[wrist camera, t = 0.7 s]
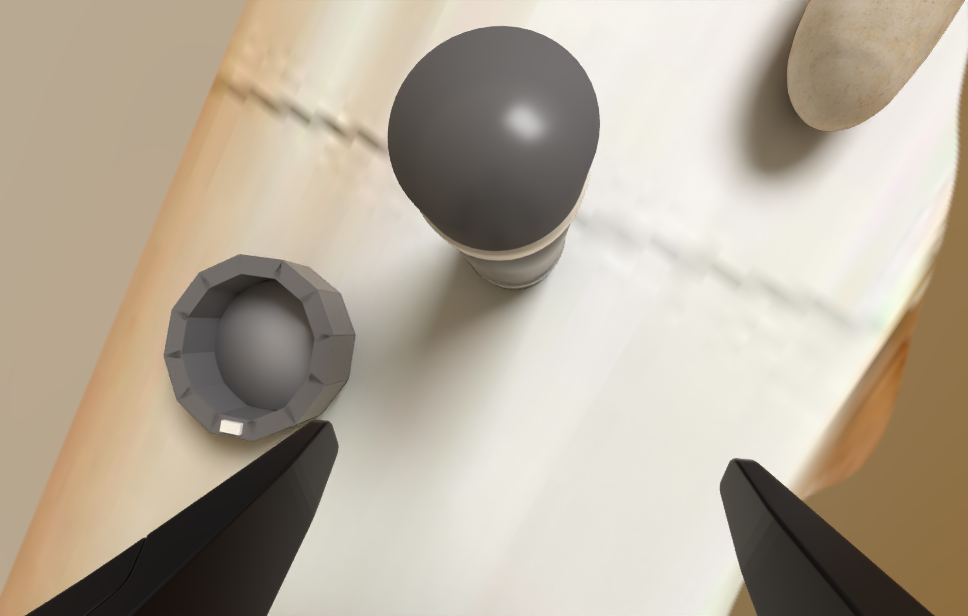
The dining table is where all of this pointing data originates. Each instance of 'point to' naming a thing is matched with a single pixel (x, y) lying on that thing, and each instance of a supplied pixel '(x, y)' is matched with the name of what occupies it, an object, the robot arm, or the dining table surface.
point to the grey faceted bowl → (258, 346)
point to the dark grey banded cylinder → (497, 148)
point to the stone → (860, 55)
